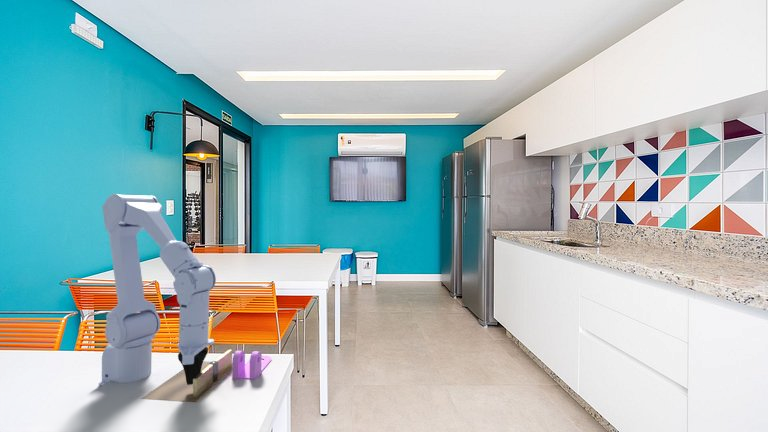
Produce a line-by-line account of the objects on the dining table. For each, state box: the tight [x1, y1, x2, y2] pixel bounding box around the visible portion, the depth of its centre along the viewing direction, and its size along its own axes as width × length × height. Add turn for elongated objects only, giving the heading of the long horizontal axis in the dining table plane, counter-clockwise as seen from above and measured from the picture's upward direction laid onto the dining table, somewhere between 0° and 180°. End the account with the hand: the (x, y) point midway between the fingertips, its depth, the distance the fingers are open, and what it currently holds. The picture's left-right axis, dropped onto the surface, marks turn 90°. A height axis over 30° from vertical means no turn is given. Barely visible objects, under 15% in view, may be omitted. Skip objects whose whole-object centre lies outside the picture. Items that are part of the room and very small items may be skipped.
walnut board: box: [141, 360, 232, 403], centre depth 85 cm, size 12×19×1 cm, turn 175°
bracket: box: [231, 350, 272, 380], centre depth 93 cm, size 13×6×7 cm, turn 177°
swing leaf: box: [193, 365, 213, 398], centre depth 80 cm, size 1×7×4 cm, turn 179°
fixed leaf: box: [209, 349, 233, 382], centre depth 88 cm, size 2×9×4 cm, turn 175°
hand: (192, 383), depth 80 cm, fingers closed, pressing on swing leaf
